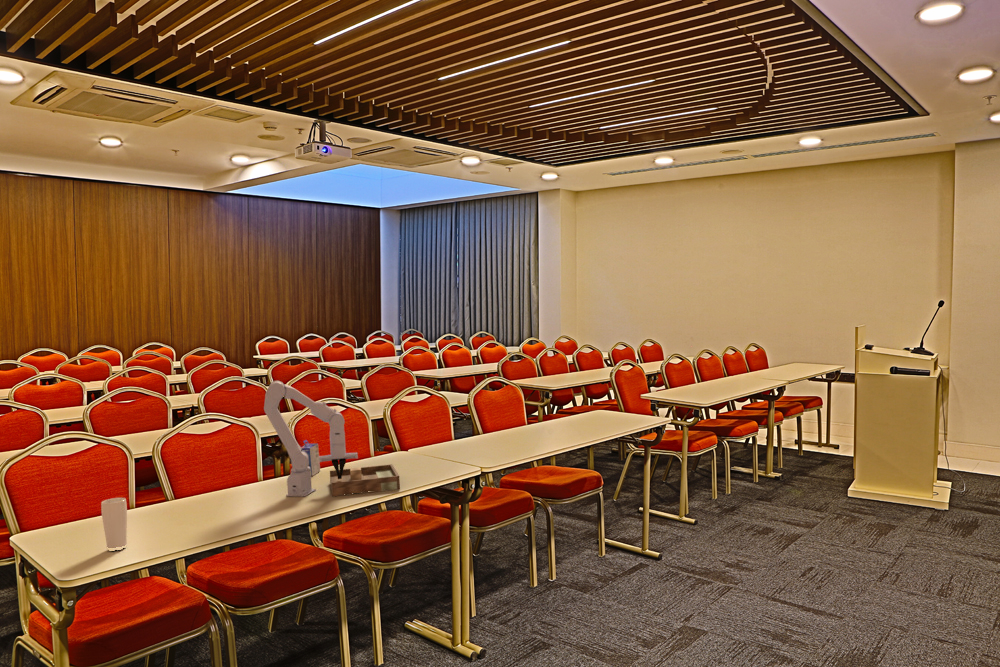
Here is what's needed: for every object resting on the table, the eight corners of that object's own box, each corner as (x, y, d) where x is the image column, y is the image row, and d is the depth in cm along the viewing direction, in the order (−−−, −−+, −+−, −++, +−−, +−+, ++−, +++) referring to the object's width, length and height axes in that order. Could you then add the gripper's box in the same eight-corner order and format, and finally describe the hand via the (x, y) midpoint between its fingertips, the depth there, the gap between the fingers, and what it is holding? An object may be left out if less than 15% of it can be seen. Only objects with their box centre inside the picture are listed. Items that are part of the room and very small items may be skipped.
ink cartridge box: (308, 471, 314) (306, 438, 313) (320, 471, 313) (318, 437, 313) (299, 476, 304) (297, 442, 303) (312, 476, 303) (310, 442, 303)
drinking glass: (129, 544, 224) (126, 496, 223) (129, 550, 218) (126, 501, 217) (104, 548, 221) (100, 499, 220) (104, 554, 215) (100, 504, 214)
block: (351, 480, 280) (350, 470, 279) (350, 478, 283) (349, 468, 283) (361, 479, 281) (361, 469, 281) (360, 477, 285) (360, 467, 284)
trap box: (332, 496, 269) (332, 483, 269) (330, 483, 290) (329, 470, 290) (399, 488, 276) (399, 475, 276) (392, 476, 297) (392, 464, 297)
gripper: (355, 440, 286) (357, 474, 286) (318, 443, 282) (320, 478, 282) (357, 443, 279) (359, 478, 279) (318, 446, 275) (320, 482, 276)
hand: (339, 478), depth 280 cm, fingers closed
